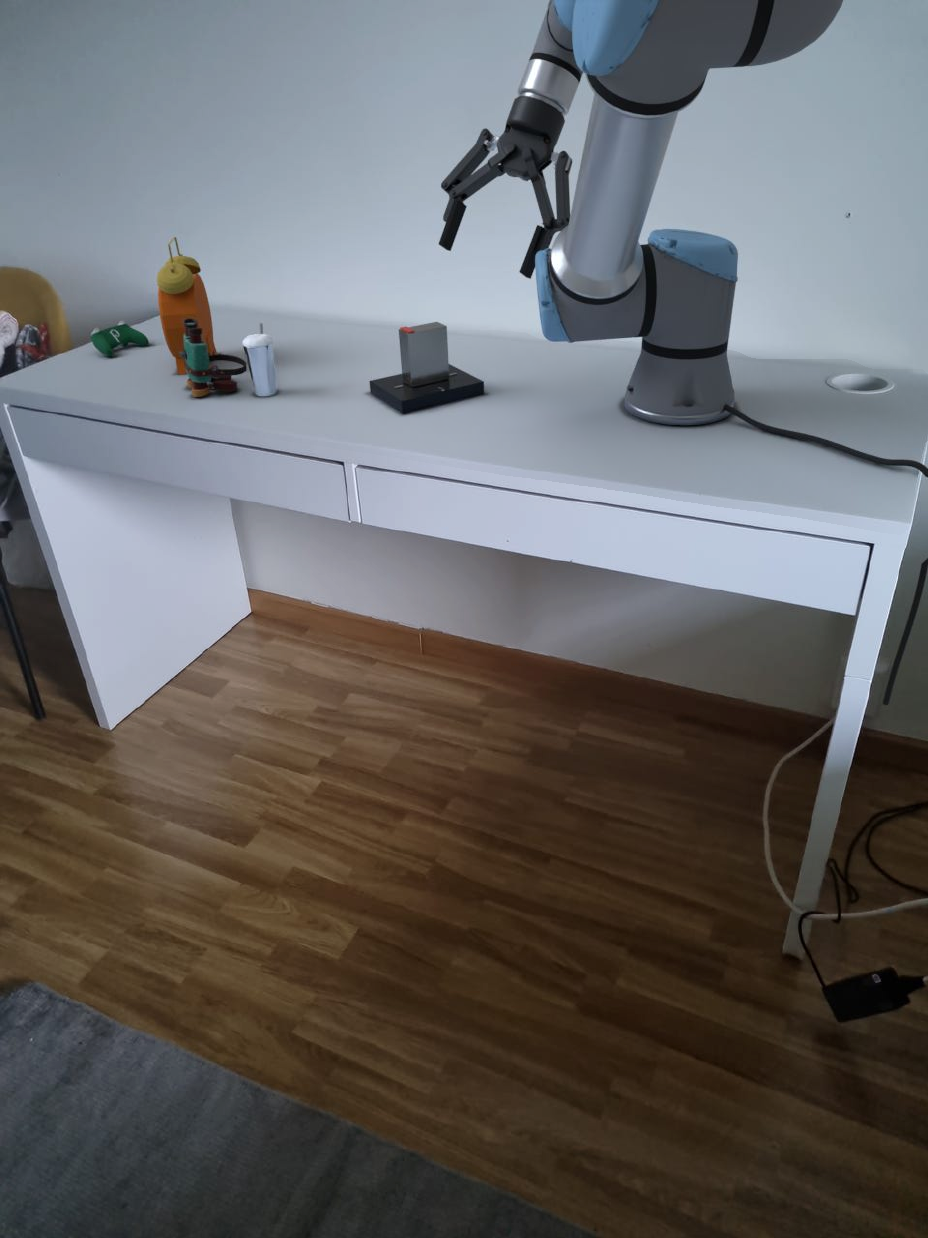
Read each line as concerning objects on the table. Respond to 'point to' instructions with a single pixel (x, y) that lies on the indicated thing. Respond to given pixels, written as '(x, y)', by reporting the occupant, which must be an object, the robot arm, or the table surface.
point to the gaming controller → (116, 338)
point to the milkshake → (261, 362)
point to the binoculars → (206, 363)
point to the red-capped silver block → (424, 354)
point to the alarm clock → (183, 304)
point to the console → (426, 391)
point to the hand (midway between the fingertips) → (483, 261)
